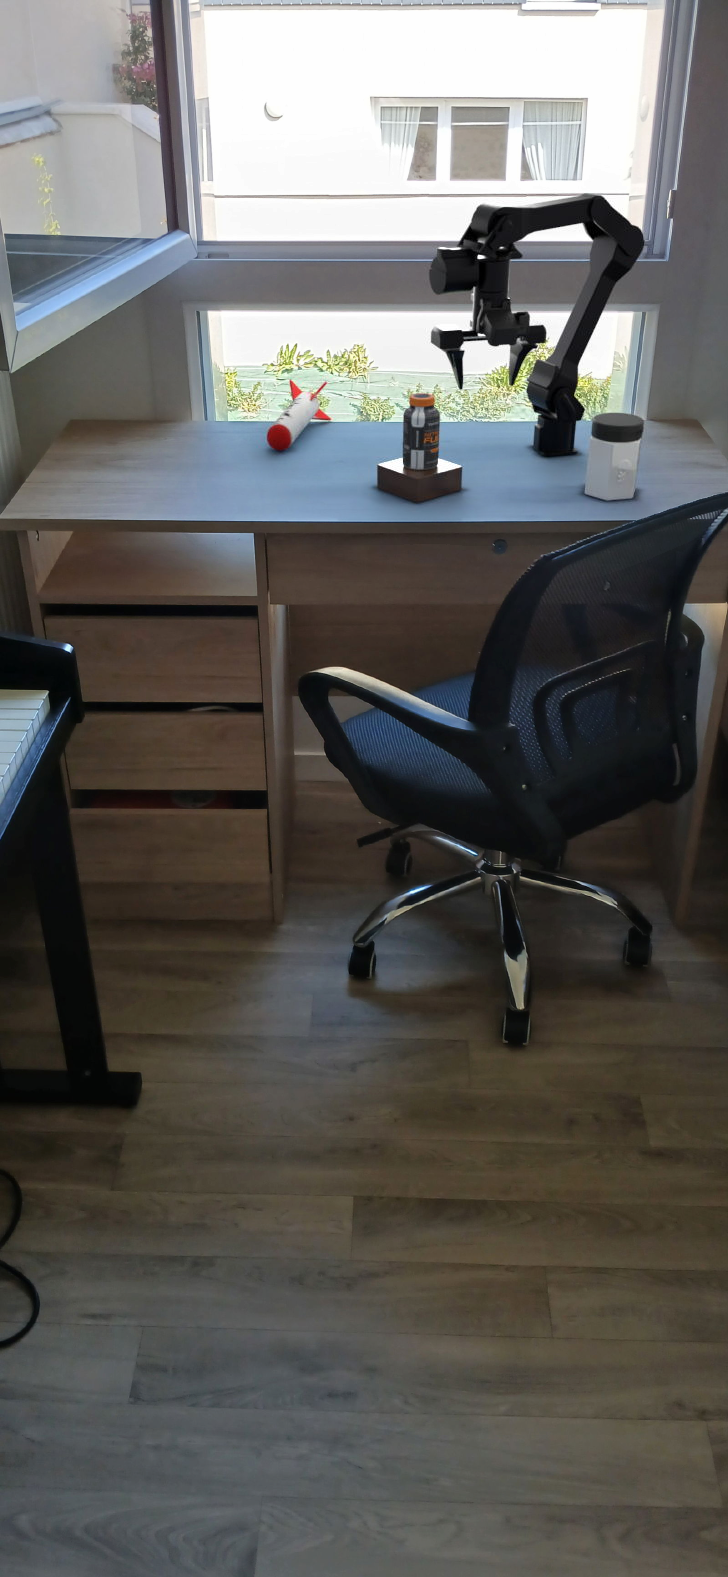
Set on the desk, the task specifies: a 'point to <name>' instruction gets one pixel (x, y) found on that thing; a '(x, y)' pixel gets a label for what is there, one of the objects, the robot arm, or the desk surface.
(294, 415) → the model rocket
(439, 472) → the block
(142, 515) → the desk surface
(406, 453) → the pill bottle
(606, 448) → the jar
